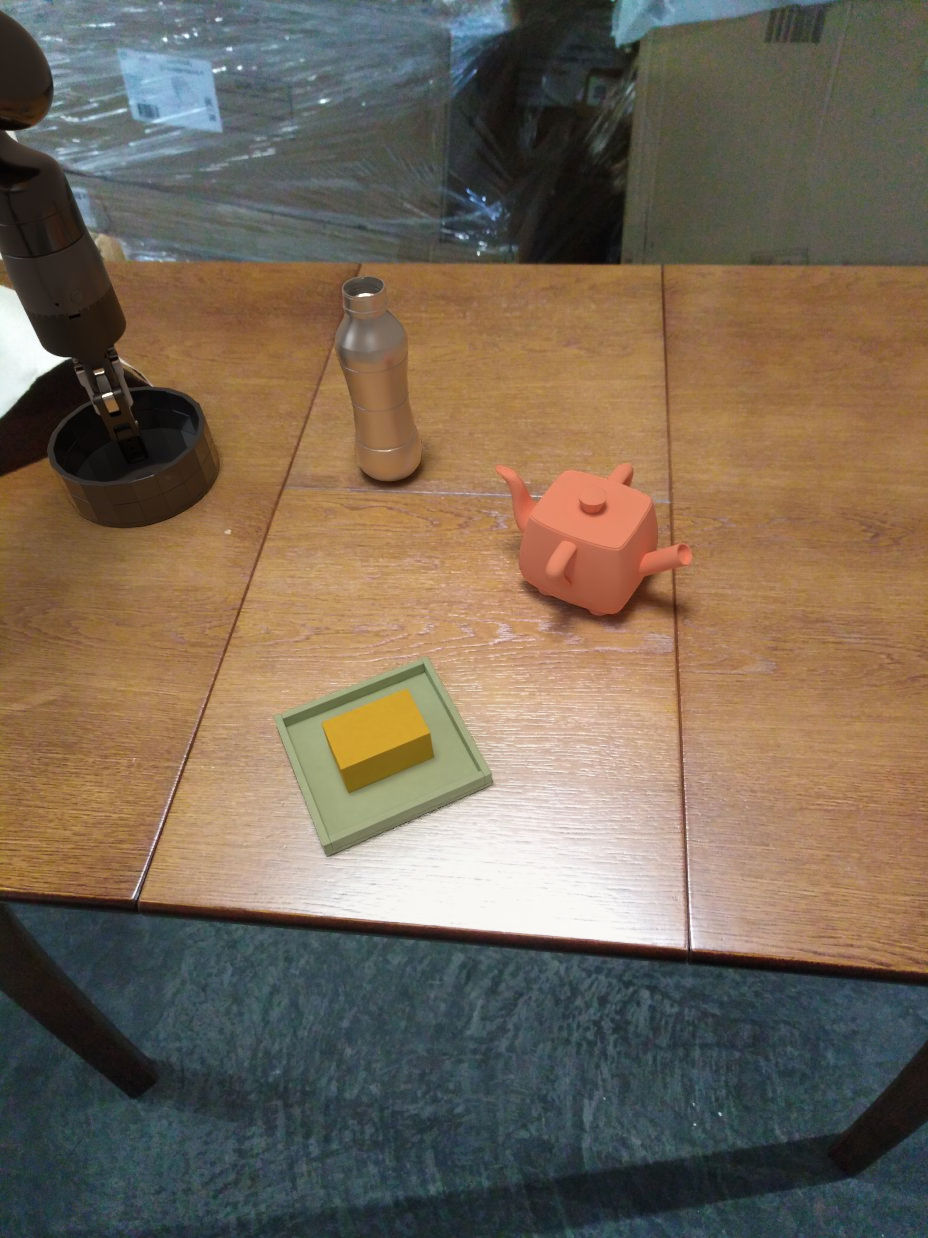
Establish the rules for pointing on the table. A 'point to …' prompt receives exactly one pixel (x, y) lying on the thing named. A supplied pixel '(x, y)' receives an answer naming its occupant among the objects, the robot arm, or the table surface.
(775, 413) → the table surface
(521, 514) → the teapot
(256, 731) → the table surface
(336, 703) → the tray
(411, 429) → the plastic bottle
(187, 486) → the bowl
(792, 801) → the table surface
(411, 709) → the sponge
